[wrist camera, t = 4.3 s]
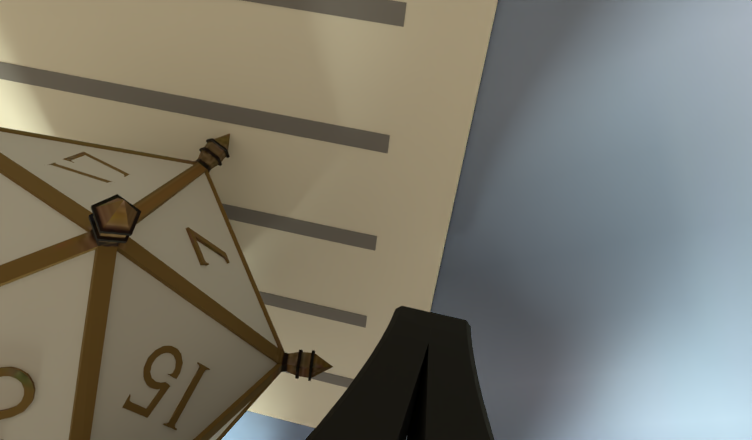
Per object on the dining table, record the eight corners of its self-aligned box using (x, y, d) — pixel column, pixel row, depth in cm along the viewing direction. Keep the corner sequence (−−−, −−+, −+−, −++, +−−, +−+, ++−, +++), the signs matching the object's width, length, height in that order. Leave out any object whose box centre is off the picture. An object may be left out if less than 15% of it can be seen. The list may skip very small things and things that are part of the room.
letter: (400, 447, 16) (399, 450, 16) (16, 348, 18) (13, 351, 18) (599, -469, 6) (601, -474, 6) (-340, -517, 8) (-350, -522, 8)
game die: (231, 203, 17) (-7, 500, 14) (-18, -40, 11) (-532, 386, 8) (468, 300, 12) (160, 830, 8) (226, -84, 6) (-1159, 1273, 2)
